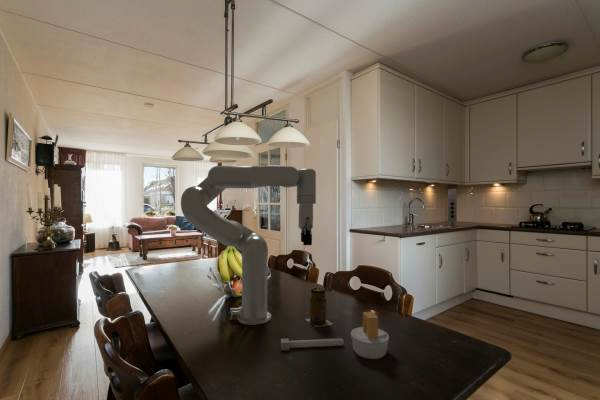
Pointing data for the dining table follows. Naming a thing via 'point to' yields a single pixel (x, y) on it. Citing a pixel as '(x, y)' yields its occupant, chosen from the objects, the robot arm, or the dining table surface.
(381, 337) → the ramekin
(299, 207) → the robot arm
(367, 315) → the tan wooden block
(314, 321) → the condiment
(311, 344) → the long grey bar
